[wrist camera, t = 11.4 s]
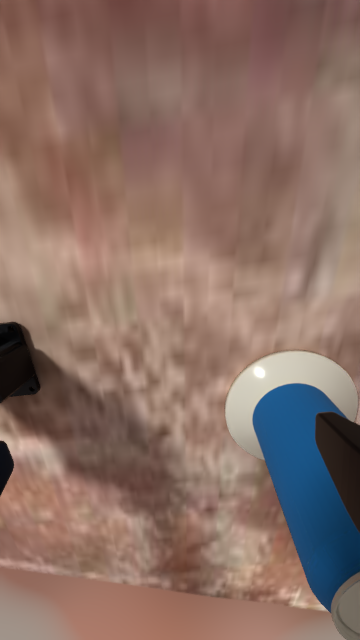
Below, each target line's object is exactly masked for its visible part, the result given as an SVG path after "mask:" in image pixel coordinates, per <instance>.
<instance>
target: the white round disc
mask: <svg viewBox="0 0 360 640" xmlns="http://www.w3.org/2000/svg"><path fill="white" fill-rule="evenodd" d="M290 383H303V384H308V385H311V386H314V387H316V388H318V389H320V390H321V391H322V392H324V393H325V394H326V395H327V396H328V398H329V399H330V400H331V401H332V402H333V403H334V404H335V405H336V406H337V407H338V408H339V410H340V411H341V412H342V413H343V414H344V415H345V416H346V417H347V418H348V419H349V420H350V421H352V422H354V421H355V418H356V415H357V410H358V396H357V391H356V388H355V385H354V383H353V381H352V379H351V378H350V376H349V375H348V374H347V372H346V371H345V370H344V369H342V368H341V367H340V366H339V365H338V364H337V363H335V362H334V361H332V360H331V359H329V358H327V357H325V356H323V355H321V354H318V353H315V352H311V351H306V350H286V351H280V352H276V353H272V354H269V355H266V356H264V357H262V358H260V359H258V360H256V361H254V362H253V363H251V364H250V365H249V366H247V367H246V368H245V369H244V370H243V371H242V372H241V373H240V374H239V375H238V376H237V377H236V379H235V380H234V382H233V383H232V385H231V387H230V389H229V391H228V393H227V397H226V401H225V417H226V422H227V426H228V429H229V432H230V434H231V436H232V437H233V439H234V440H235V442H236V443H237V444H238V445H239V446H240V447H241V448H242V449H243V450H245V451H246V452H247V453H249V454H251V455H252V456H254V457H257V458H259V459H262V460H265V459H264V456H263V453H262V450H261V448H260V445H259V442H258V439H257V436H256V433H255V431H254V428H253V422H252V417H253V412H254V409H255V406H256V405H257V403H258V402H259V400H260V399H261V398H262V397H263V396H264V395H265V394H266V393H267V392H269V391H270V390H272V389H274V388H276V387H278V386H281V385H285V384H290Z"/></svg>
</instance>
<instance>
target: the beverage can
mask: <svg viewBox="0 0 360 640" xmlns="http://www.w3.org/2000/svg"><path fill="white" fill-rule="evenodd" d="M330 411H331V412H335V413H337V414H339V415H341V416H343V417H345V418H346V419H348V418H347V417H346V416H345V415H344V414H343V413H342V412H341V411H340V410H339V408H338V407H337V406H336V405H335V404H334V403H333V402H332V401H331V400H330V399H329V398H328V396H327V395H326V394H325V393H324V392H322V391H321V390H320V389H318V388H316V387H314V386H311V385H308V384H303V383H290V384H285V385H281V386H278V387H276V388H274V389H272V390H270V391H269V392H267V393H266V394H265V395H264V396H263V397H262V398H261V399H260V400H259V402H258V403H257V405H256V406H255V409H254V412H253V417H252V422H253V428H254V431H255V433H256V436H257V439H258V442H259V445H260V448H261V450H262V453H263V456H264V459H265V462H266V465H267V467H268V470H269V473H270V476H271V479H272V482H273V484H274V487H275V490H276V493H277V496H278V499H279V501H280V504H281V507H282V510H283V513H284V516H285V518H286V521H287V524H288V527H289V530H290V533H291V535H292V538H293V541H294V544H295V547H296V550H297V552H298V555H299V558H300V561H301V564H302V567H303V569H304V572H305V575H306V578H307V581H308V583H309V586H310V588H311V590H312V592H313V593H314V594H315V596H316V597H317V599H318V600H319V601H320V603H321V604H322V605H323V606H324V607H325V608H326V609H327V610H328V611H329V612H330V613H331V614H332V619H333V622H334V624H335V626H336V628H337V630H338V631H339V633H340V634H341V635H342V636H343V637H344V638H345V639H347V640H360V533H359V532H358V530H357V528H356V526H355V525H354V523H353V521H352V519H351V517H350V516H349V514H348V512H347V510H346V508H345V506H344V504H343V502H342V500H341V498H340V496H339V493H338V491H337V489H336V487H335V485H334V482H333V480H332V478H331V476H330V474H329V472H328V469H327V467H326V465H325V463H324V461H323V458H322V456H321V454H320V452H319V450H318V447H317V445H316V441H315V417H316V414H317V413H319V412H330ZM348 420H349V419H348Z"/></svg>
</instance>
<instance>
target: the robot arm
mask: <svg viewBox="0 0 360 640" xmlns="http://www.w3.org/2000/svg"><path fill="white" fill-rule="evenodd" d="M11 326H12V327H13V328H14V330H12V328H11ZM32 387H34V388H35V389H33V388H32ZM39 390H40V384H39V381H38V378H37V375H36V372H35V369H34V366H33V363H32V360H31V357H30V354H29V351H28V348H27V346H26V343H25V340H24V337H23V334H22V331H21V328H20V326H19V324H18V323H16V322H7V323H0V403H2V402H3V401H4V400H6V399H7V398H8V397H12V396H22V395H31V394H36V393H37V392H38V391H39ZM315 441H316V445H317V447H318V450H319V452H320V454H321V456H322V458H323V461H324V463H325V465H326V467H327V469H328V472H329V474H330V476H331V478H332V480H333V482H334V485H335V487H336V489H337V491H338V493H339V496H340V498H341V500H342V502H343V504H344V506H345V508H346V510H347V512H348V514H349V516H350V517H351V519H352V521H353V523H354V525H355V526H356V528H357V530H358V532H359V533H360V425H358V424H356V423H354V422H352V421H350V420H348V419H346V418H345V417H343V416H341V415H339V414H337V413H335V412H331V411H330V412H319V413H317V414H316V417H315ZM13 468H14V461H13V459H12V456H11V454H10V451H9V449H8V446H7V444H6V443H5V442H4V441H0V496H1V494H2V492H3V490H4V488H5V486H6V484H7V481H8V479H9V477H10V475H11V473H12V471H13Z"/></svg>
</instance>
